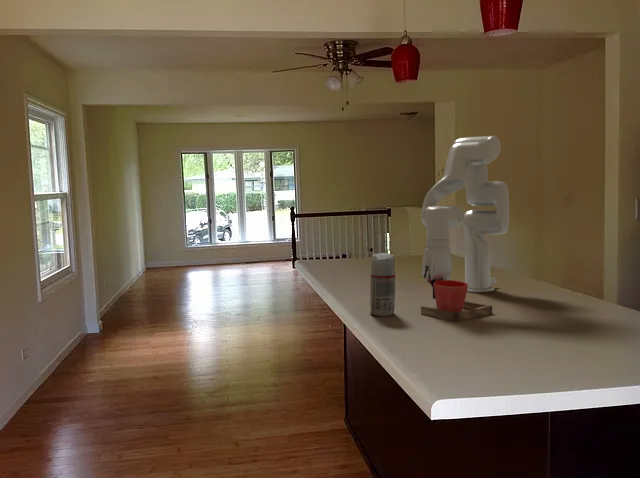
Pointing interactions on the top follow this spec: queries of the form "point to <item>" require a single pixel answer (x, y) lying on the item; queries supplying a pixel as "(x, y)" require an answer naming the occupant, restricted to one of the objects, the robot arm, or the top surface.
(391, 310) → the spray can
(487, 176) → the robot arm
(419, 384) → the top surface
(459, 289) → the flower pot
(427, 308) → the wooden bars
